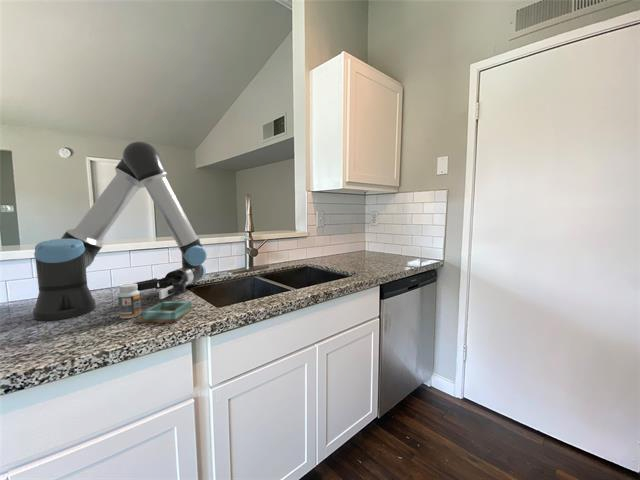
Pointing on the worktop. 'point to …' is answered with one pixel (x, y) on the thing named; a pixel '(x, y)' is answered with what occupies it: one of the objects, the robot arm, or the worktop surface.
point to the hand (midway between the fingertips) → (140, 294)
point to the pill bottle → (129, 301)
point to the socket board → (165, 312)
